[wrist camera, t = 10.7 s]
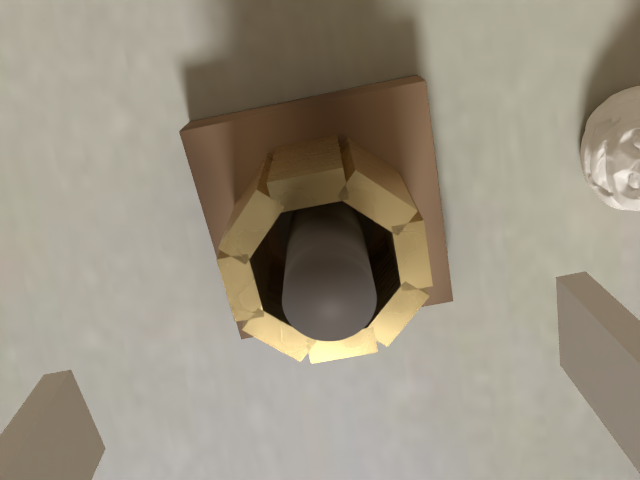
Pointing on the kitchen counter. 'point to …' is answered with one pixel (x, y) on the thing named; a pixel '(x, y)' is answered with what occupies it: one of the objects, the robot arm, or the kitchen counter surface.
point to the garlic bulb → (614, 150)
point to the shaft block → (333, 218)
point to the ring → (311, 190)
